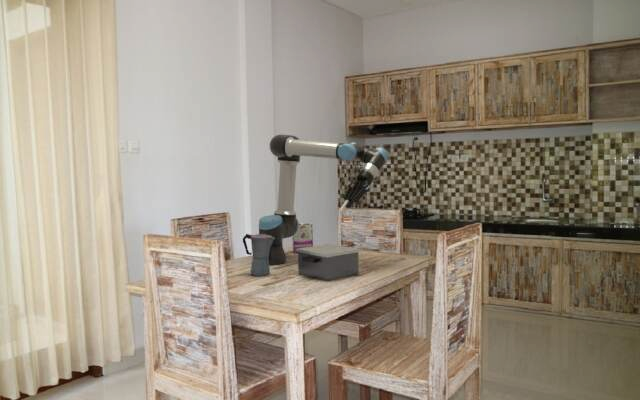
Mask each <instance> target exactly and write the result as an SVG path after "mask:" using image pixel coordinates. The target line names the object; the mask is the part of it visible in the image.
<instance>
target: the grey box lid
mask: <svg viewBox="0 0 640 400" xmlns="http://www.w3.org/2000/svg"><path fill="white" fill-rule="evenodd" d="M296 252H301V253H306V254H311V255H317V256H322V257H333V256H339V255H344V254H350V253H356V252H358V253H360V252H361V249H360V248H356V247H350V246H344V245H343V246H342V245H337V244H332V243H331V244H330V243H326V244H320V245H313V246H312V247H306V248H299V249H296Z"/></svg>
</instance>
